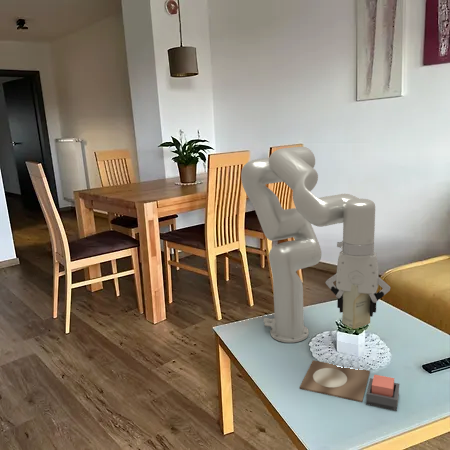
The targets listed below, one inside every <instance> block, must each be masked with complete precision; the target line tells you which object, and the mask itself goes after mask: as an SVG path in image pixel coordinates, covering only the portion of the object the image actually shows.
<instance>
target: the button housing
mask: <svg viewBox="0 0 450 450" xmlns="http://www.w3.org/2000/svg"><path fill="white" fill-rule="evenodd" d="M368 381H369V382H368V385H367V388H366V395H365V396H366V397H365V401H366V402H365V403H366V405H367V406H372V407H377V408H381V409H386V410H390V411H395V412H397V411H398V403H399V396H400V383H399V382H398V383H396V382H394V391H393V397H388V396H383V395H378V394H373V393H372V382H373V377H372V378H369V380H368Z"/></svg>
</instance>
